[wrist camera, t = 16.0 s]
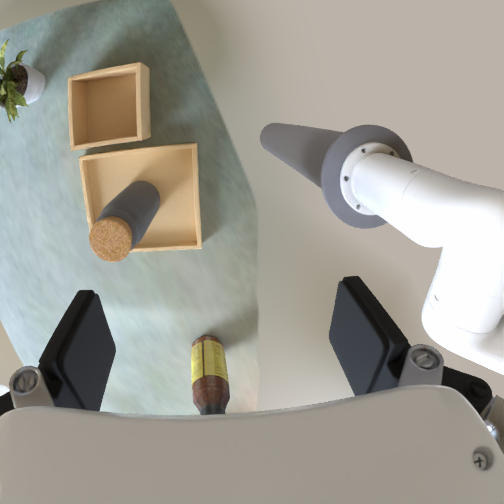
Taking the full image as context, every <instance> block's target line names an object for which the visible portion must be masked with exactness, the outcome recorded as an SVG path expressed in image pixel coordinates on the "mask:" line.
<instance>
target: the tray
mask: <svg viewBox="0 0 504 504" xmlns="http://www.w3.org/2000/svg"><path fill="white" fill-rule="evenodd" d="M79 163H80V172H81V180H82V187H83V194H84V201H85V207H86V213H87V218H88V224H89V229H90V230H91V228H92V227H93V225H94V224H95V222H96V220H97V219H98V217H99V216H100V214H101V212H102V210H103V209H104V207H105V206H106V205H107V204H108V203H109V202H110V201H111V200H113V199H114V198H115V197H116V196H117V195H118V194H119V193H120V192H121V191H123V190H124V189H125V188H126V187H127V186H128V185H130V184H131V183H133V182H136V181H147V182H149V183H151V184H152V185H154V186H155V187H156V189H157V190H158V192H159V195H160V206H159V209H158V211H157V213H156V215H155V216H154V218H153V220H152V222H151V224H150V225H149V227H148V229H147V231H146V233H145V235H144V236H143V238H142V239H141V241H140V242H139V243H138V244H136V245H135V246H134V248H133V249H132V250H131V251H130V252H143V251H162V250H182V249H201V248H202V232H201V216H200V198H199V178H198V152H197V143H185V144H172V145H160V146H150V147H140V148H131V149H123V150H116V151H108V152H102V153H95V154H89V155H84V156H81V157H79Z"/></svg>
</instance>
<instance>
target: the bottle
mask: <svg viewBox="0 0 504 504" xmlns="http://www.w3.org/2000/svg"><path fill="white" fill-rule="evenodd" d="M159 206H160V195H159V192H158V190H157V189H156V187H155V186H154V185H152V184H151V183H149V182H147V181H136V182H133V183H131V184H130V185H128V186H127V187H126V188H125V189H124V190H123V191H121V192H120V193H119V194H118V195H117V196H116V197H115V198H114V199H113V200H111V201H110V202H109V203H108V204H107V205H106V206H105V207H104V209H103V210H102V212H101V214H100V216H99V217H98V219H97V220H96V222H95V224H94V225H93V227H92V228H91V230H90V234H89V241H90V245H91V248H92V250H93V251H94V253H95V254H96V255H97V256H98V257H100V258H101V259H103V260H105V261H109V262H117V261H120V260H122V259H124V258H125V257H126V256H127V255H128V254H129V252H130V251H131V250H132V249H133V248H134V246H135V245H136V244H138V243H139V242H140V241H141V239H142V238H143V236H144V235H145V233H146V231H147V229H148V227H149V225H150V224H151V222H152V220H153V218H154V216H155V215H156V213H157V211H158V209H159Z"/></svg>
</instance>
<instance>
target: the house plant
mask: <svg viewBox="0 0 504 504" xmlns="http://www.w3.org/2000/svg"><path fill="white" fill-rule="evenodd" d="M8 40H9V39H8ZM8 40H7V41H6V42H5V43H4V45H3V46H2V48H1V51H0V64H1V67H2V69H3V70H2V69H1V67H0V74H1V75H0V107H1V108H2V109H5V110H6V111H7V115H8V118H9V121H10V122H11V117H10V115H12V118H13V120H14V121H15V116H17V117H19V116H18V114H17V108H16V107H19V106H28V105H27V104H28V103H31V102H34V101H36V100H37V99H39V98H40V96H41V95H42V93H43V91H44V89H45V84H46V81H45V77H44V75H43V73H41V72H39V71H37V70H35V69H33V68H31V67H30V66H28V65H25V64H23V63H21V62H22V61H21V58H22V56H23V54H24V53H25V52H26V51H27V50H26V51H21V52H20V53H19V54H18V55H17V57H16V61H14V62H11V63H10V64H9V65H8V67H7V68H6V69H5V70H4V62H5V60H4V52H5V49H6V46H7V42H8ZM28 107H29V106H28ZM19 118H20V117H19Z"/></svg>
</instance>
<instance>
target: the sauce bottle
mask: <svg viewBox="0 0 504 504" xmlns="http://www.w3.org/2000/svg"><path fill="white" fill-rule="evenodd" d="M191 365H192V390H193V402H194V404H195V405H196V407H197V408H198V410H199V411H200V415H217V414H225V409H226V406H227V403H228V401H229V399H230V393H229V382H228V374H227V367H226V360H225V352H224V348H223V345H222V343H221V342H220V341H219V340H218V339H216V338H215V337H210V336H205V337H200V338H198V339H197V340H196V341H194V343H193V345H192V351H191Z"/></svg>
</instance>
